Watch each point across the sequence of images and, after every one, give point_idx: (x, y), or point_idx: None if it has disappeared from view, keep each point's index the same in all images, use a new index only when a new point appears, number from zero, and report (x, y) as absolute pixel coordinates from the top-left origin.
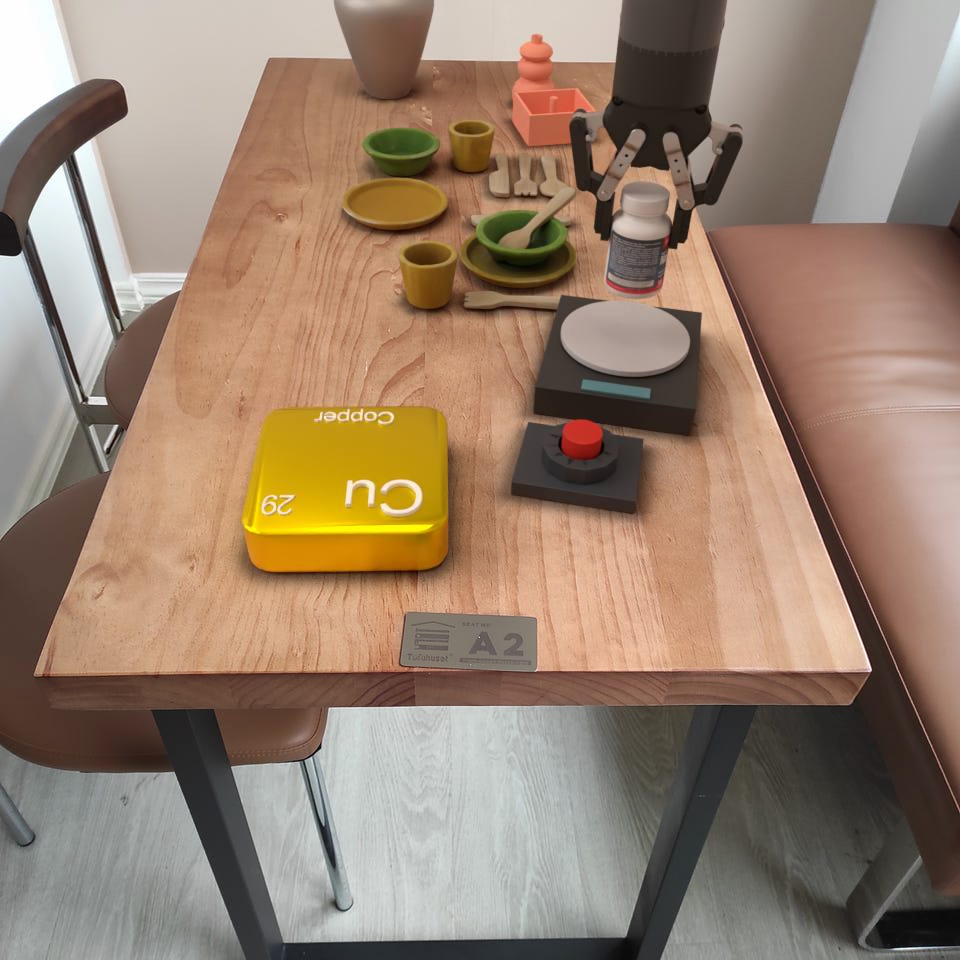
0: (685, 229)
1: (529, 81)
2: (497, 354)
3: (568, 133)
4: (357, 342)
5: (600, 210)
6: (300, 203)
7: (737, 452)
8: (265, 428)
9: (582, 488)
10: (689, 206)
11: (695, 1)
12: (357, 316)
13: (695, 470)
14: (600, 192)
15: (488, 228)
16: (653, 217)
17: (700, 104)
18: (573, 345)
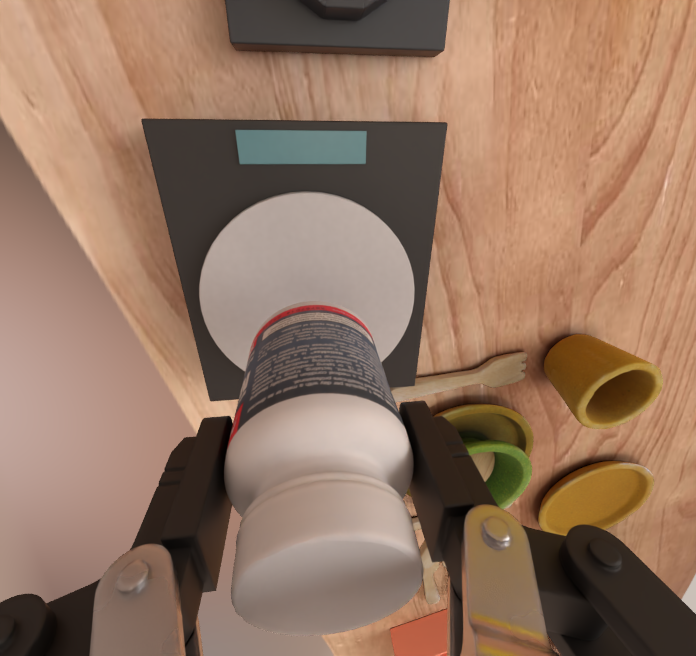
0: (172, 476)
1: None
2: (481, 267)
3: (417, 633)
4: (667, 245)
5: (465, 475)
6: (682, 476)
7: (68, 91)
8: None
9: None
10: (126, 565)
11: None
12: (657, 301)
13: (124, 6)
14: (514, 536)
15: (512, 481)
16: (280, 484)
17: None
18: (392, 251)
